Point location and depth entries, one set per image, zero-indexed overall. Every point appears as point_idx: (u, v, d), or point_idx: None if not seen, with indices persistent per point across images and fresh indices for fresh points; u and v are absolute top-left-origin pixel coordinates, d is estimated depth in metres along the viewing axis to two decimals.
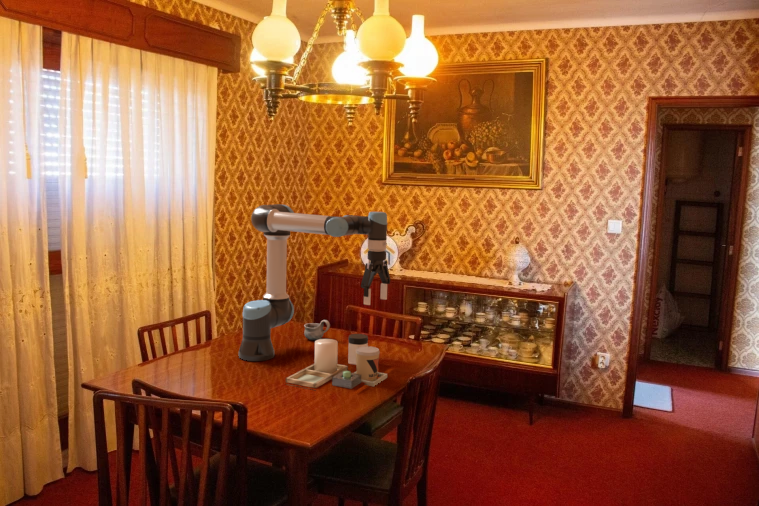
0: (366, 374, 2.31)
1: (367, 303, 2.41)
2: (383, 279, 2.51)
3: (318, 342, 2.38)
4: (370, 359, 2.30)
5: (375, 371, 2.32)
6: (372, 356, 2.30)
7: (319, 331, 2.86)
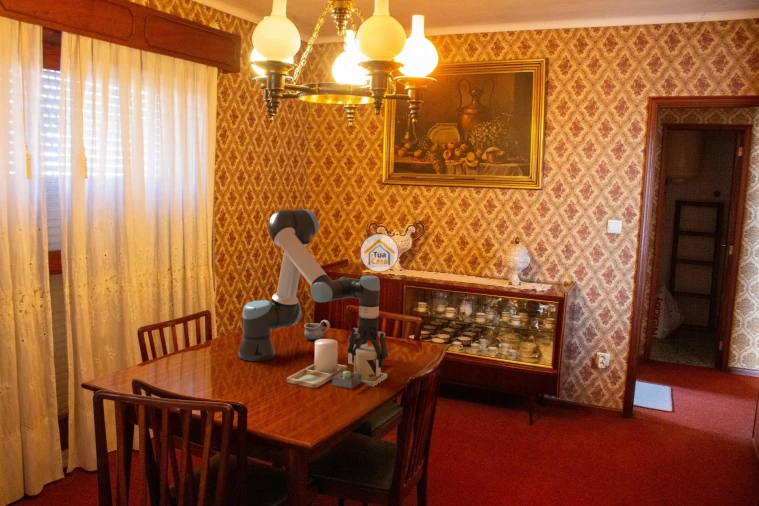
0: (366, 374, 2.31)
1: None
2: None
3: (318, 342, 2.38)
4: (370, 359, 2.30)
5: (375, 371, 2.32)
6: (372, 356, 2.30)
7: (319, 331, 2.86)
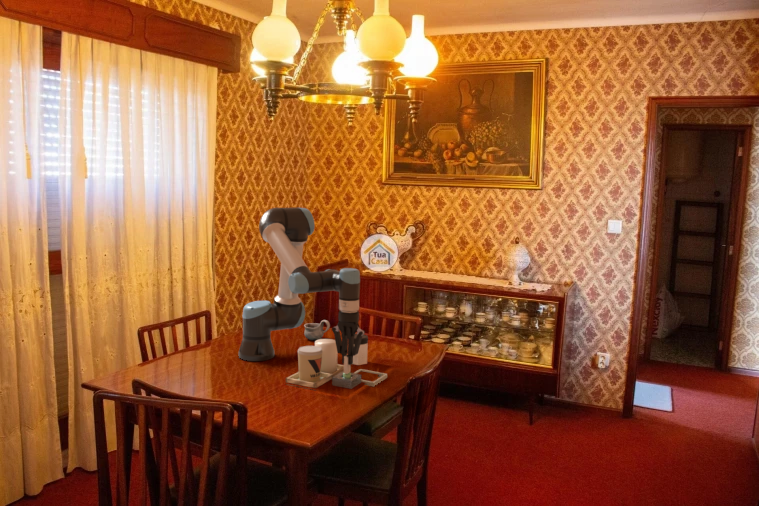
0: (308, 374, 2.25)
1: None
2: None
3: (318, 342, 2.38)
4: (311, 359, 2.24)
5: (317, 371, 2.26)
6: (313, 356, 2.24)
7: (319, 331, 2.86)
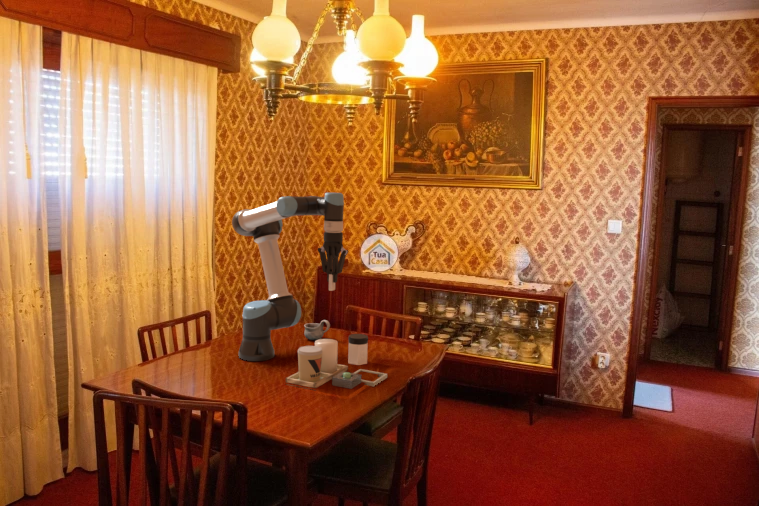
0: (308, 374, 2.25)
1: None
2: None
3: (318, 342, 2.38)
4: (311, 359, 2.24)
5: (317, 371, 2.26)
6: (313, 356, 2.24)
7: (319, 331, 2.86)
